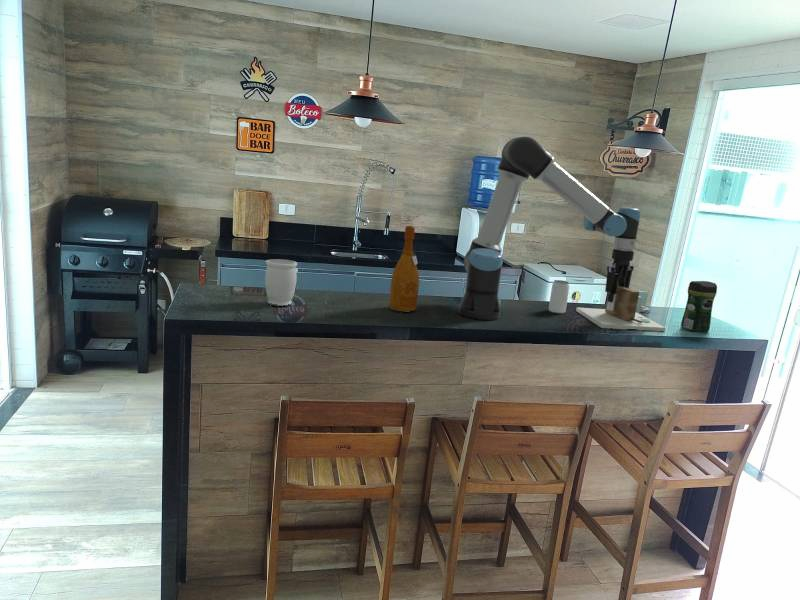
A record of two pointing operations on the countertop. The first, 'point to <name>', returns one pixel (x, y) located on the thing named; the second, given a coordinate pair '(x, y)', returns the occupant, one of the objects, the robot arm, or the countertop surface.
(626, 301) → the brown wooden box
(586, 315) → the dial plate
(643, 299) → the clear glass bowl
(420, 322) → the countertop surface
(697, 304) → the coffee jar
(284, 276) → the jar
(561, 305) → the can
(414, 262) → the wine bottle
